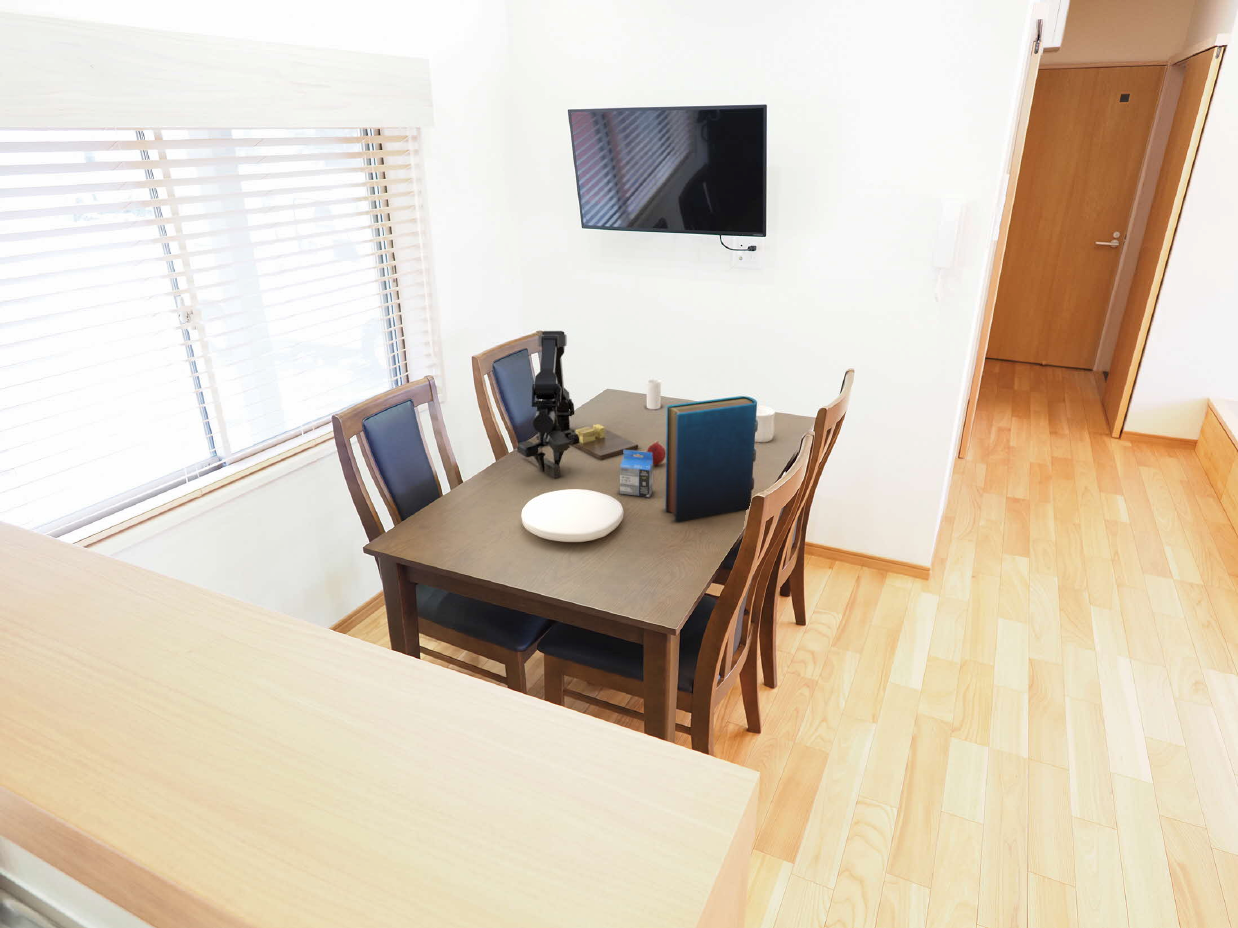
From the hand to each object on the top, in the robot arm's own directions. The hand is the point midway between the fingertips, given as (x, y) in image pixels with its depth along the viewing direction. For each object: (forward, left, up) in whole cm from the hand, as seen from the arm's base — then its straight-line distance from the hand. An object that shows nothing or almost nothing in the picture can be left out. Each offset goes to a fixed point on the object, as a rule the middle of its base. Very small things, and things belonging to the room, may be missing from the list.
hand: (549, 469), depth 237 cm
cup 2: (+18, +71, -1) cm, 73 cm away
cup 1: (-28, +63, -1) cm, 69 cm away
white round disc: (+32, -13, -1) cm, 35 cm away
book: (+47, +22, -1) cm, 52 cm away
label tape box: (+27, +12, -1) cm, 30 cm away
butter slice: (-13, +27, 0) cm, 30 cm away
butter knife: (-4, 0, -1) cm, 4 cm away
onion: (+15, +29, -1) cm, 33 cm away
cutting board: (-9, +25, -1) cm, 27 cm away
